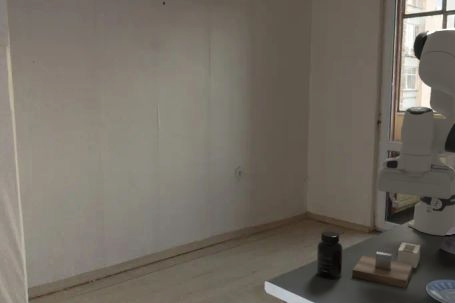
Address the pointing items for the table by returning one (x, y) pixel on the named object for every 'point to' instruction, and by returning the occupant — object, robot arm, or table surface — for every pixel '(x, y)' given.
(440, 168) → the robot arm
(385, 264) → the tall grey block
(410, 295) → the table surface
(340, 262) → the supplement bottle
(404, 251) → the open rectangular brace
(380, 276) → the board
